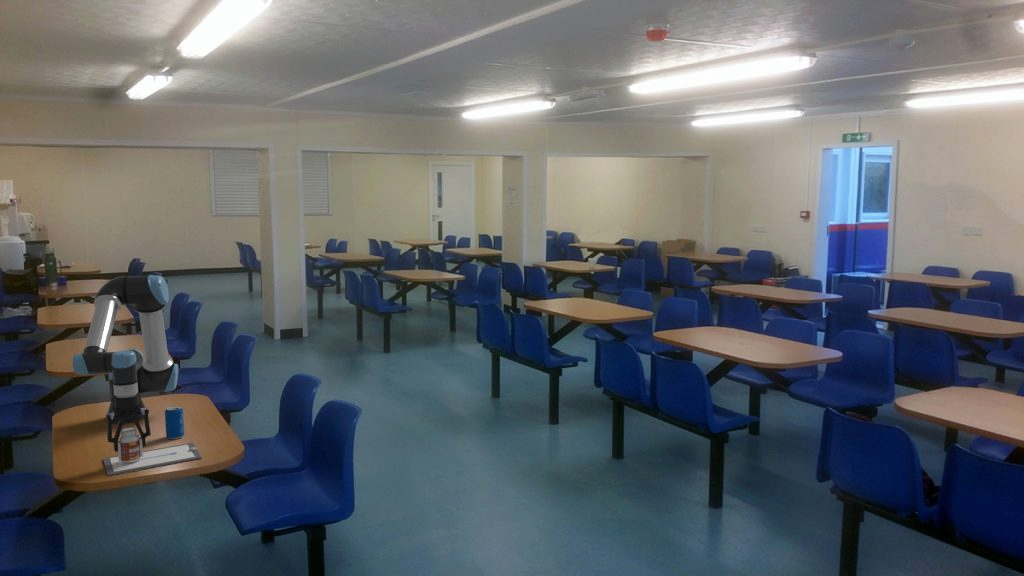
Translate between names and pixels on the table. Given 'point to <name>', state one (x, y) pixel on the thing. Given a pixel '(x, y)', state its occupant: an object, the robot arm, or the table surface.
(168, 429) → the beverage can
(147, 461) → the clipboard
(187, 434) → the table surface
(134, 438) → the pill bottle
